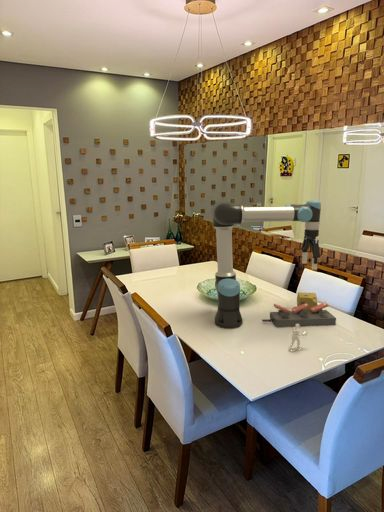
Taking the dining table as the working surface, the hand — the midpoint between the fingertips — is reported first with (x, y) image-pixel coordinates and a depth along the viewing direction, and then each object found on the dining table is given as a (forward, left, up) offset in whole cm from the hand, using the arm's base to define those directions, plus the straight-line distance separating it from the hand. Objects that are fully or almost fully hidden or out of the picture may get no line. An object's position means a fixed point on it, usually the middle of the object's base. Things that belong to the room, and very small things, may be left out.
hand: (309, 266), depth 199 cm
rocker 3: (+3, -11, -21) cm, 24 cm away
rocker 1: (-18, -11, -21) cm, 30 cm away
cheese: (+1, +2, -28) cm, 28 cm away
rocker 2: (-8, -11, -21) cm, 25 cm away
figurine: (-21, -43, -28) cm, 55 cm away
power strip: (-11, -13, -28) cm, 32 cm away
